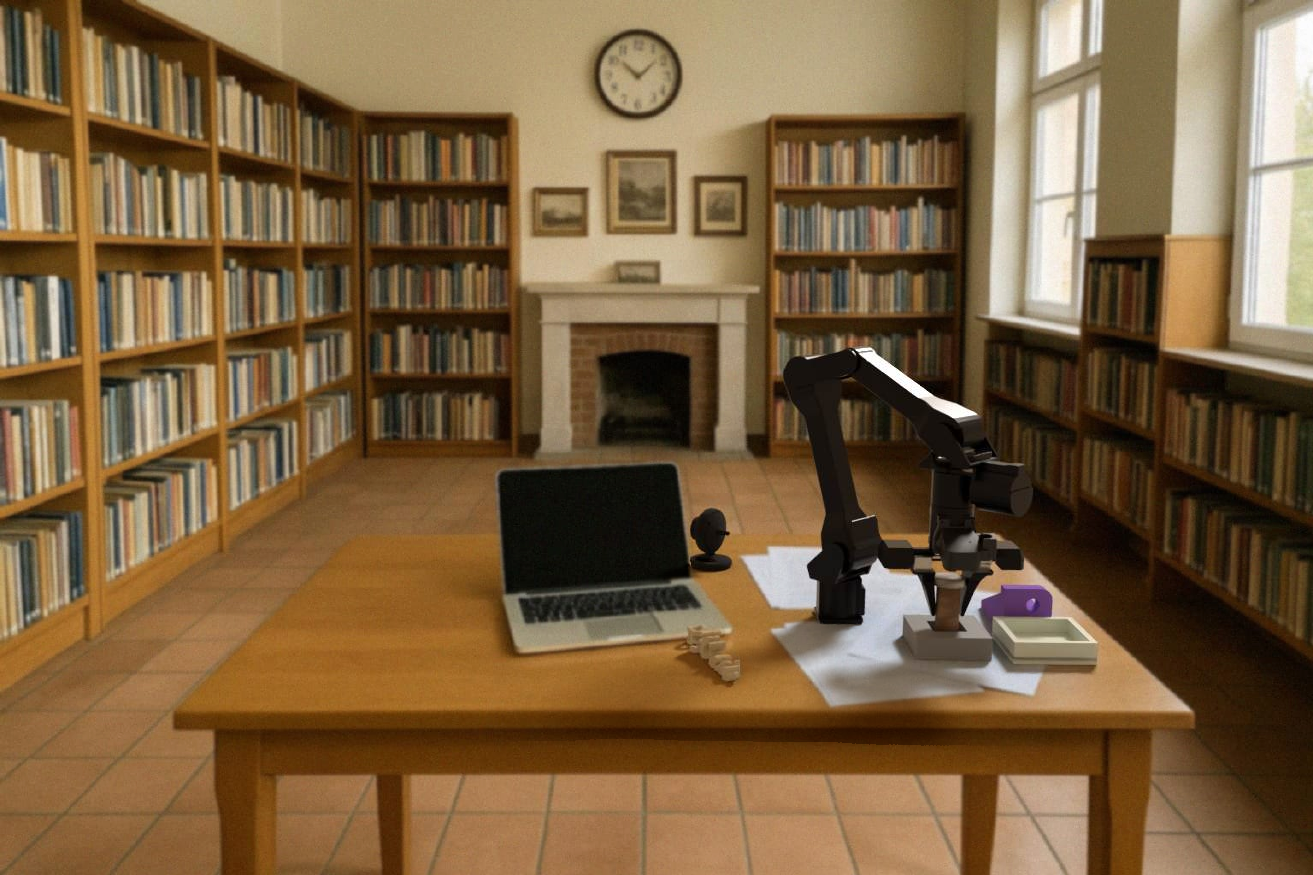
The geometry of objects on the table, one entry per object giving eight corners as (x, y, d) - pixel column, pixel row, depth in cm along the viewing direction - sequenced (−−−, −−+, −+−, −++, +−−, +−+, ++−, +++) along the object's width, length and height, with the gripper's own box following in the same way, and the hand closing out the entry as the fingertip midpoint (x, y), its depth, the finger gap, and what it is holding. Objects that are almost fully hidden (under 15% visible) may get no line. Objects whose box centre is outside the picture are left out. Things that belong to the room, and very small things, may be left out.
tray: (1013, 663, 162) (1014, 642, 162) (991, 636, 173) (992, 616, 173) (1096, 664, 162) (1098, 643, 162) (1069, 637, 173) (1071, 617, 173)
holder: (916, 659, 164) (917, 637, 163) (902, 635, 174) (903, 614, 173) (991, 659, 164) (992, 638, 163) (973, 635, 174) (974, 615, 173)
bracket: (1050, 635, 175) (1053, 589, 174) (1002, 635, 175) (1005, 588, 174) (1025, 609, 187) (1028, 566, 186) (980, 609, 187) (983, 566, 186)
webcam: (704, 557, 215) (705, 501, 213) (740, 564, 210) (741, 507, 209) (679, 566, 209) (679, 509, 207) (716, 574, 204) (716, 515, 203)
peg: (933, 652, 167) (936, 581, 165) (926, 641, 171) (929, 572, 169) (965, 652, 167) (969, 581, 165) (957, 642, 171) (961, 572, 169)
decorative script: (678, 643, 171) (678, 619, 170) (704, 640, 172) (704, 616, 171) (727, 686, 155) (727, 660, 154) (754, 682, 156) (755, 657, 155)
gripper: (893, 517, 158) (889, 634, 160) (1039, 518, 157) (1032, 635, 160) (879, 498, 169) (875, 608, 171) (1015, 499, 168) (1009, 609, 171)
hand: (947, 615), depth 168 cm, fingers closed on peg, 4 cm apart
